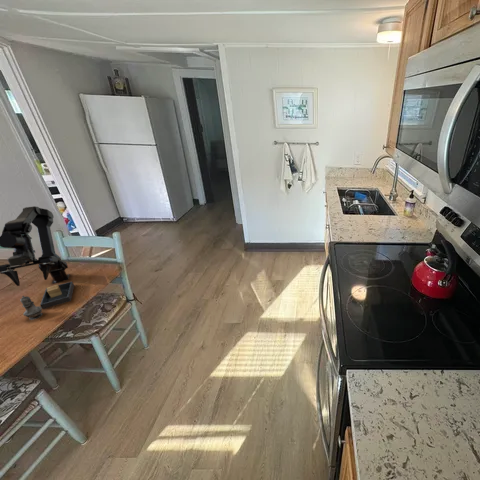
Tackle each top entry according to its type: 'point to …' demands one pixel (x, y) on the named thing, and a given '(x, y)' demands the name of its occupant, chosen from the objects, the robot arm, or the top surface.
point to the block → (54, 291)
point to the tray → (63, 298)
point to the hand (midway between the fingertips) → (32, 282)
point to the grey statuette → (31, 308)
